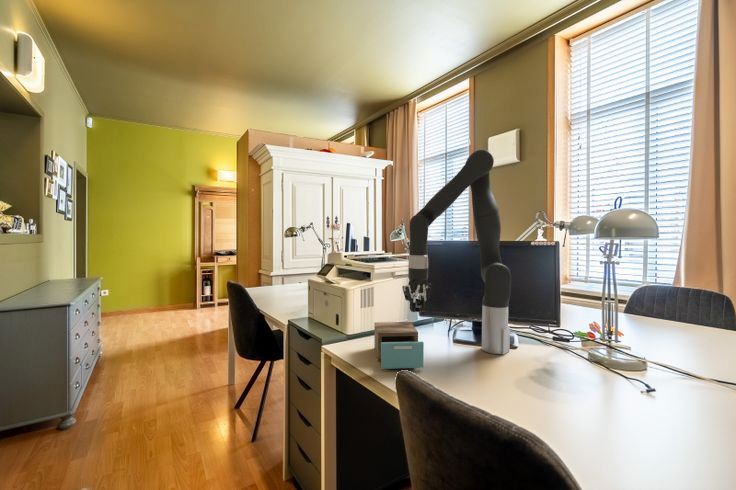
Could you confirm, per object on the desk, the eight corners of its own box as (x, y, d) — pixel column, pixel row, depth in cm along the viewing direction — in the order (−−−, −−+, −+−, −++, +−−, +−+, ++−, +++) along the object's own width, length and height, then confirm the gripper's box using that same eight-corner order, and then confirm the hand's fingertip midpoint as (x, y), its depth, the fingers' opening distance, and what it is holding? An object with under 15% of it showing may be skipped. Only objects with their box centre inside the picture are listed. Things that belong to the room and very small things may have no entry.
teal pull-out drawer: (423, 368, 115) (423, 343, 115) (381, 369, 114) (381, 344, 114) (415, 353, 129) (415, 331, 129) (377, 354, 128) (377, 331, 128)
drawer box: (417, 360, 125) (418, 332, 125) (378, 361, 124) (378, 333, 124) (410, 347, 139) (410, 321, 139) (374, 348, 138) (374, 322, 138)
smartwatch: (422, 310, 140) (422, 297, 140) (421, 313, 135) (421, 300, 135) (411, 310, 141) (411, 297, 141) (410, 313, 136) (410, 299, 136)
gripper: (409, 268, 131) (409, 315, 132) (438, 266, 138) (438, 310, 139) (397, 266, 137) (397, 311, 138) (426, 265, 145) (425, 307, 145)
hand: (417, 310), depth 139 cm, fingers closed on smartwatch, 4 cm apart
